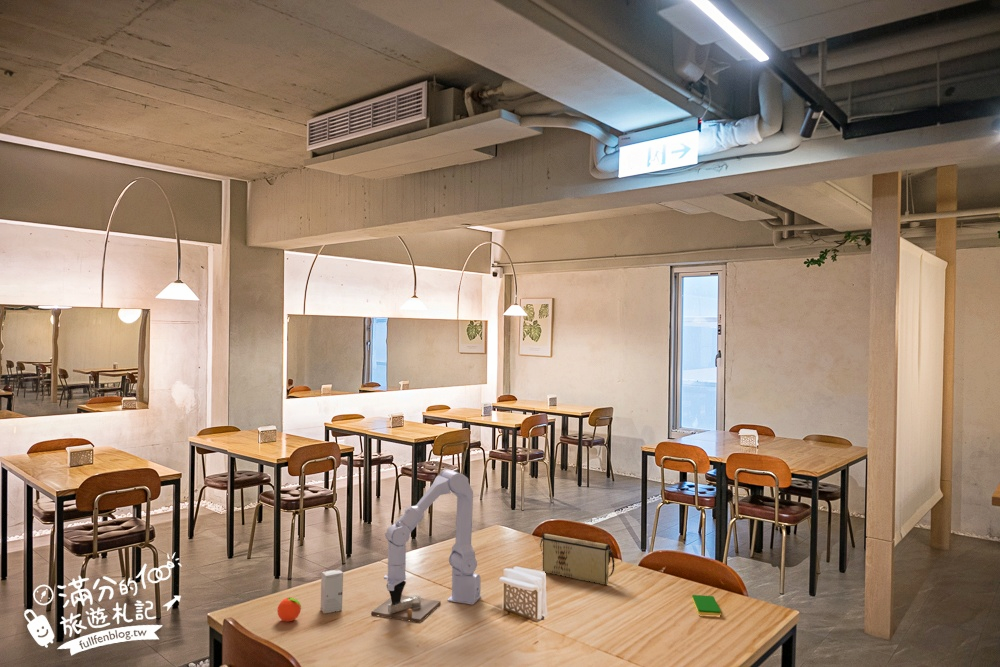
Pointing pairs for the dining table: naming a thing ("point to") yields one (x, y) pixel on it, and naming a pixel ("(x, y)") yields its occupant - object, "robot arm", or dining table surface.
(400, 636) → the dining table surface
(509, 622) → the dining table surface
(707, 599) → the dish sponge
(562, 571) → the clutch purse
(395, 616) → the base board
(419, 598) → the cap handle
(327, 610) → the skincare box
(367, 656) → the dining table surface
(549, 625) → the dining table surface
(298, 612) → the clementine
